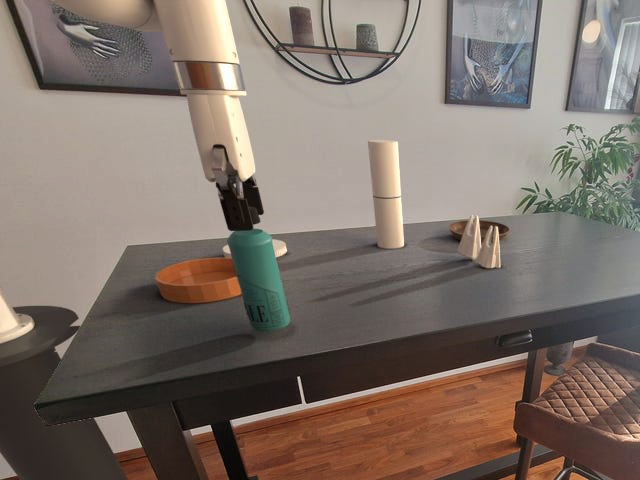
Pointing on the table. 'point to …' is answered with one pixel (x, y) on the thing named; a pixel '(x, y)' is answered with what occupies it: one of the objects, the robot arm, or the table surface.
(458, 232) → the plant saucer
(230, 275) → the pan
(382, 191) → the cylindrical container
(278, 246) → the plastic lid
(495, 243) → the shaker set
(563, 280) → the table surface
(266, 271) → the beverage bottle
